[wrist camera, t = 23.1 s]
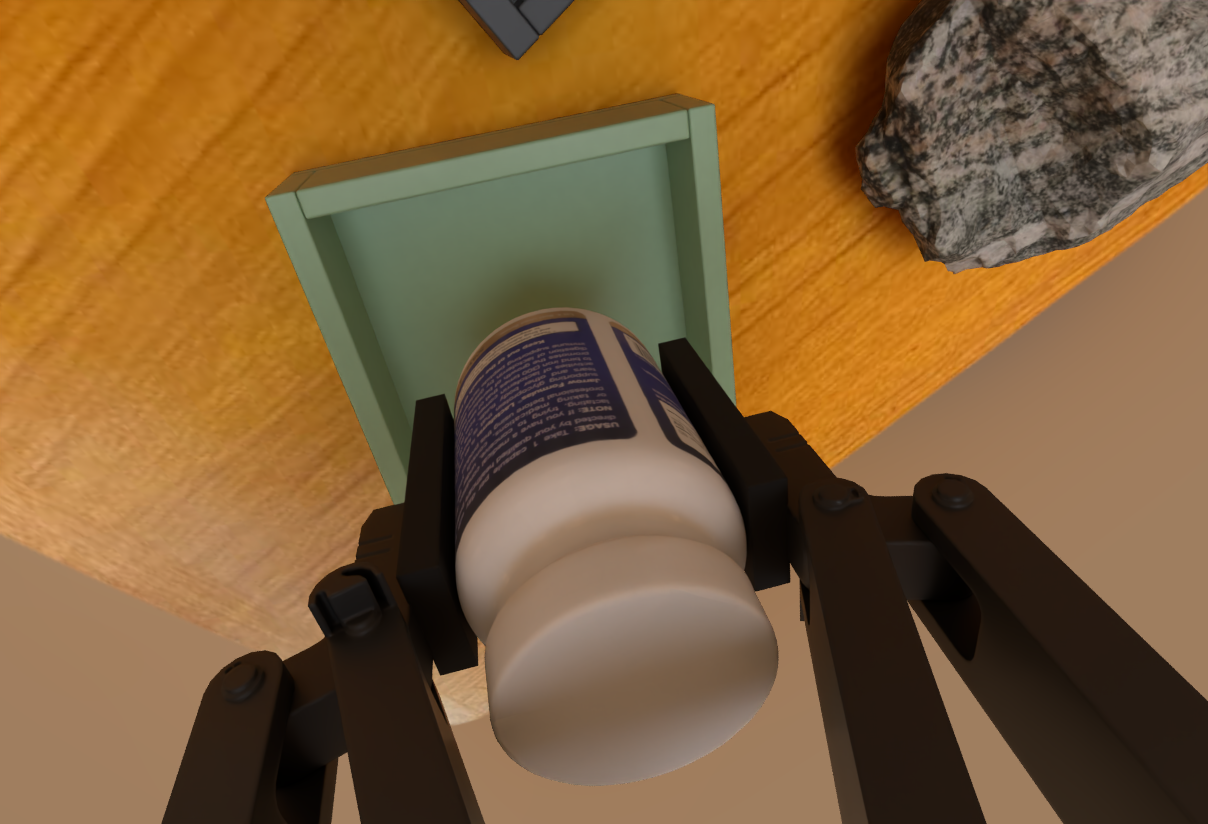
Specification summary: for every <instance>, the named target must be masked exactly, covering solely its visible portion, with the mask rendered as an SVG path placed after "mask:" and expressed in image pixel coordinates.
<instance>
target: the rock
mask: <svg viewBox="0 0 1208 824" xmlns="http://www.w3.org/2000/svg"><path fill="white" fill-rule="evenodd" d="M856 160H857V163H858V165H859V171H860V174H861V177H862V185H861V190H862V191H863V192H864V194H865V195H866V196H867V198H868V199H869V201H870V202H871V203H872V204H873V205H874V206H875V208H876V207H883V206H885V207H888V208H892V209H897V210H899V213H900V215H901V219H902V222H903V223H904V224H905V225H906V227H907V228H908V229H909V231H910V232H911V233H912V234H913V236H914V238H915V240H916V242H917V244H918V247H919V249H920V251H921V254H922V256H923V258H924V261H925V262H926V261H929V260H931V261H938V262H942V263H944V264H945V265H946V268H947V270H948V271H952V272H953V273H954V274H956V273H958V272H961V271H963V270H965V269H972V268H979V267H983V268H993V267H999V266H1002V265H1004V264H1009V263H1014V262H1019V261H1022V260H1025V259H1028V258H1030V257H1033V256H1038V255H1042V254H1046V253H1049V252H1052V251H1054V250H1065V249H1069V248H1073V247H1077V246H1080V245H1082V244H1084V243H1087V242H1089V241H1091V240H1092V239H1094V238H1096V237H1097V236H1099V235H1100V234H1102V233H1104V232H1107V231H1109V230H1111V229H1112V228H1113V227H1114V226H1115V225H1116V224H1118V223H1120V222H1121V221H1123V220H1124V219H1126V218H1127V217H1129V216H1130V215H1132V214H1133V213H1134V212H1135V211H1136V210H1137V209H1138V207H1140V206H1141V205H1143V204H1144V203H1146V202H1148V201H1150V200H1152V199H1155V198H1157V197H1159V196H1160V195H1161V194H1163V193H1164V192H1165V191H1167V190H1168V189H1169V188H1171V187H1173V186H1174V185H1176V184H1178V183H1180V182H1181V181H1183V180H1184V179H1186V178H1187V177H1188V176H1190V175H1191V174H1192V173H1194V172H1195V171H1196V170H1198V169H1199V168H1200V167H1202V166H1203V165H1205V164H1206V163H1208V0H922V1H921V2H920V3H919V4H918V6H917V7H916V8H915V10H914V11H913V12H912V13H911V15H910V16H909V17H908V18H907V19H906V21H905V22H904V23H903V24H902V25H901V28H900V30H899V32H898V34H897V36H896V38H895V40H894V42H893V45H892V48H891V50H890V53H889V56H888V58H887V67H886V82H885V94H884V99H883V103H882V107H881V109H880V110H879V111H878V113H877V114H876V116H875V117H874V119H873V121H872V123H871V125H870V127H869V129H868V131H867V133H866V134H865V136H864V137H863V138H862V139H861V141H860V142H859V143H858V144H857V146H856Z"/></svg>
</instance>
